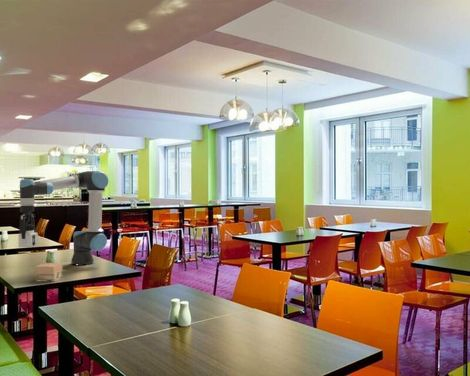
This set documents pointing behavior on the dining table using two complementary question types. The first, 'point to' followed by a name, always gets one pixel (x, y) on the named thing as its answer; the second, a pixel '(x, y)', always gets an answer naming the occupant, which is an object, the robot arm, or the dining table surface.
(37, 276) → the tower bottom
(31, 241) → the container
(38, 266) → the tower top
